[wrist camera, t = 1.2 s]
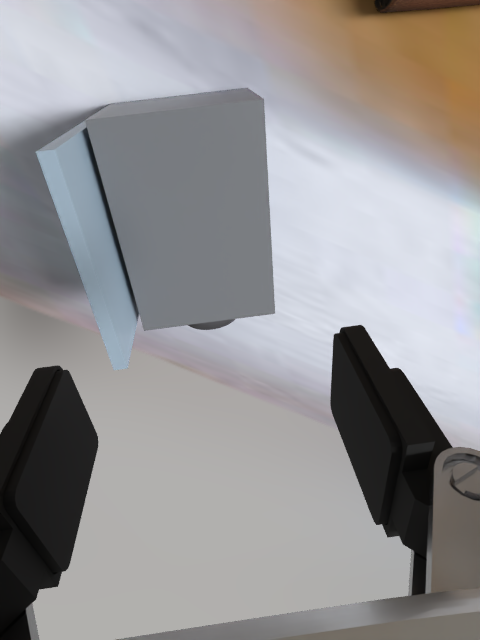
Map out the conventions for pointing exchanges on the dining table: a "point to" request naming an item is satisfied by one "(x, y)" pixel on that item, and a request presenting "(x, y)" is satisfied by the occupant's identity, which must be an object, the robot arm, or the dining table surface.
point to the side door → (92, 238)
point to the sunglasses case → (419, 4)
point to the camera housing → (190, 205)
